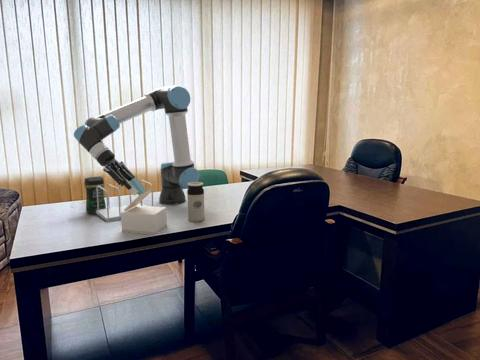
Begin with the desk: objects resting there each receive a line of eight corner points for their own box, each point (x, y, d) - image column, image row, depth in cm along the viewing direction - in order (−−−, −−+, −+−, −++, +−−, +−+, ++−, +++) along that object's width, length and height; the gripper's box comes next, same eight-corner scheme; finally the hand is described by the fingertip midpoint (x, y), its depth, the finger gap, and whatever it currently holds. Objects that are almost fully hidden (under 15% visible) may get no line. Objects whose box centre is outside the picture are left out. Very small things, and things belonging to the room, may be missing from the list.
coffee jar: (89, 215, 192) (86, 179, 188) (84, 211, 198) (81, 176, 194) (108, 211, 197) (105, 177, 194) (103, 208, 204) (100, 174, 200)
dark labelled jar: (188, 217, 187) (187, 182, 183) (204, 216, 188) (203, 181, 184) (187, 222, 179) (186, 185, 176) (204, 221, 180) (203, 185, 176)
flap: (125, 211, 165) (112, 195, 165) (136, 205, 174) (124, 190, 174) (141, 196, 161) (128, 180, 161) (151, 191, 171) (139, 176, 171)
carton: (121, 232, 166) (120, 212, 164) (135, 223, 177) (134, 205, 176) (155, 234, 162) (154, 214, 160) (167, 226, 174) (166, 207, 172)
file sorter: (106, 222, 180) (104, 190, 177) (95, 214, 194) (93, 184, 191) (155, 213, 195) (154, 183, 192) (142, 206, 209) (140, 178, 205)
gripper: (108, 157, 177) (142, 193, 176) (86, 163, 161) (124, 202, 160) (117, 146, 174) (152, 183, 174) (96, 151, 158) (134, 191, 158)
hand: (138, 192), depth 167 cm, fingers closed on flap, 3 cm apart
